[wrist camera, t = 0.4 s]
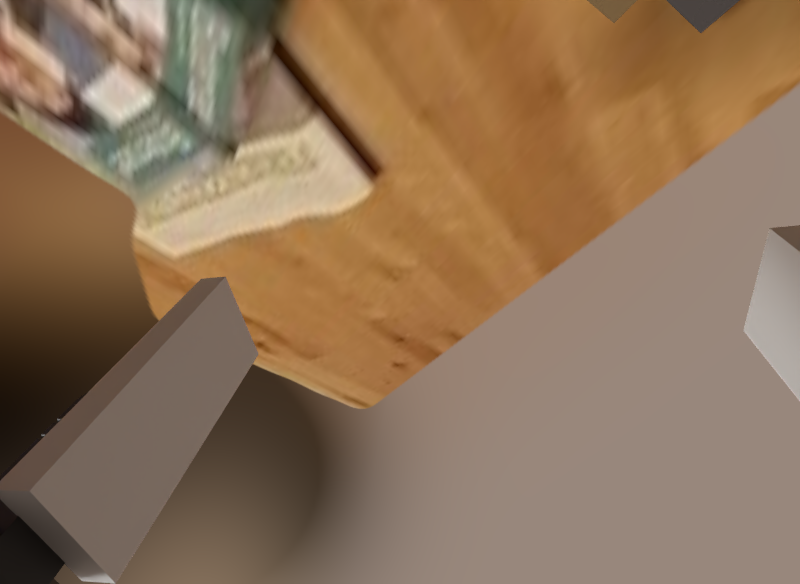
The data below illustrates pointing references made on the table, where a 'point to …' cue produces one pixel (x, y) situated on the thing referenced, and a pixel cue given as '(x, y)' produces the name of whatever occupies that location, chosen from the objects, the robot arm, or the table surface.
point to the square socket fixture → (695, 3)
